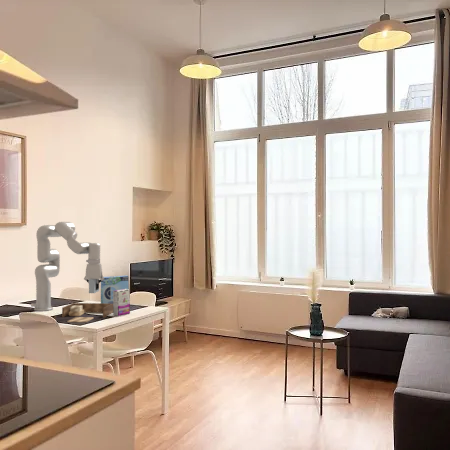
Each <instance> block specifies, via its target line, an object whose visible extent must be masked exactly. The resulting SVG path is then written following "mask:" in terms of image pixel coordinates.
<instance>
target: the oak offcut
mask: <svg viewBox="0 0 450 450" xmlns="http://www.w3.org/2000/svg"><path fill="white" fill-rule="evenodd" d="M84 314H85V312H84V310H82V311H80V312H71V311H70V312H69V315H68V316H69V317H81V316H82V315H84Z"/></svg>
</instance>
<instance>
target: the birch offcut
mask: <svg viewBox="0 0 450 450" xmlns="http://www.w3.org/2000/svg"><path fill="white" fill-rule="evenodd" d="M82 310H83V305H73V306H72V307H71V312H80V311H82Z"/></svg>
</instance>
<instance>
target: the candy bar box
mask: <svg viewBox="0 0 450 450" xmlns="http://www.w3.org/2000/svg"><path fill="white" fill-rule="evenodd" d="M130 294H131V291H130V289H129V288H128V289H122V290H117V291H113V313H112V314H113V316H114V317H121V316H125V315H129V314H131V305H130V304H131V302H130V301H131V298H130V296H131V295H130Z"/></svg>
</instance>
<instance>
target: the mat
mask: <svg viewBox="0 0 450 450" xmlns="http://www.w3.org/2000/svg"><path fill="white" fill-rule="evenodd" d="M93 319H94V317H92V316H91V317H90V316H87V317H83V316H74V317H73V318H71V319H68V320H67V323H88V322H90V321H91V320H93Z"/></svg>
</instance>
